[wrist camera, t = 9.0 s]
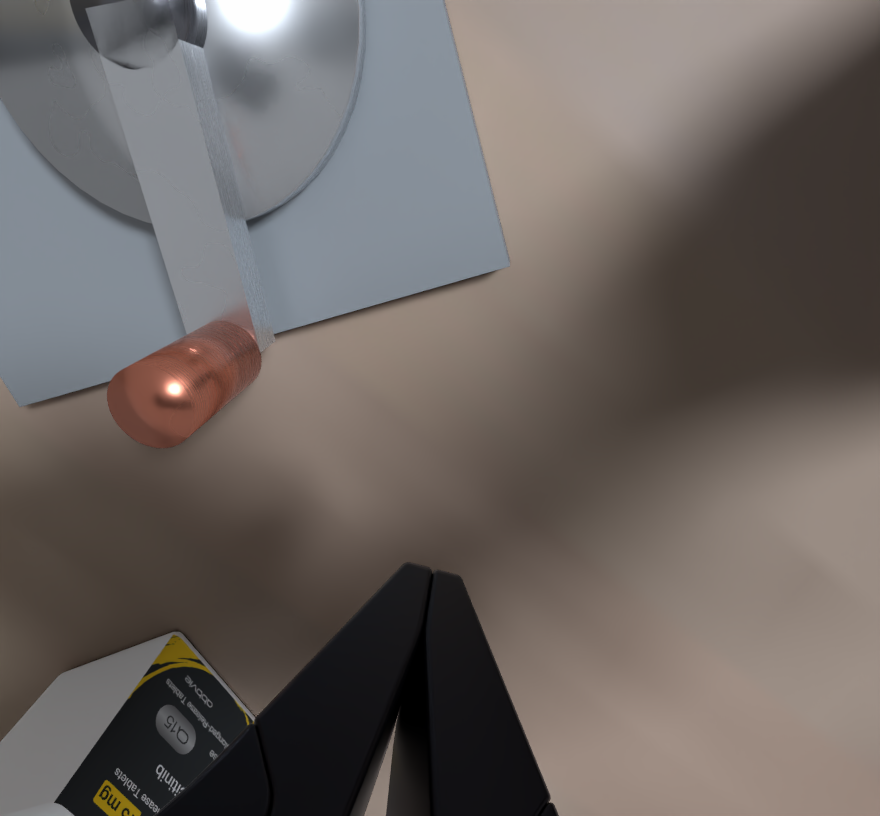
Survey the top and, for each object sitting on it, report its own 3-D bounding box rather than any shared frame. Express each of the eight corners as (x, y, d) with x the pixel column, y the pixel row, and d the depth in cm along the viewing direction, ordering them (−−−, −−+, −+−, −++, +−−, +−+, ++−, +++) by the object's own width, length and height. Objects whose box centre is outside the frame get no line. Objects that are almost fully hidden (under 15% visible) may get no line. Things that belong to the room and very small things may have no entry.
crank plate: (320, -493, 10) (215, -858, 7) (509, 260, 15) (509, 290, 12) (-269, -117, 14) (-552, -218, 10) (43, 395, 19) (-70, 451, 15)
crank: (-87, -195, 12) (-478, -429, 7) (320, -307, 10) (168, -688, 6) (123, 377, 17) (-24, 459, 12) (416, 352, 15) (376, 434, 11)
